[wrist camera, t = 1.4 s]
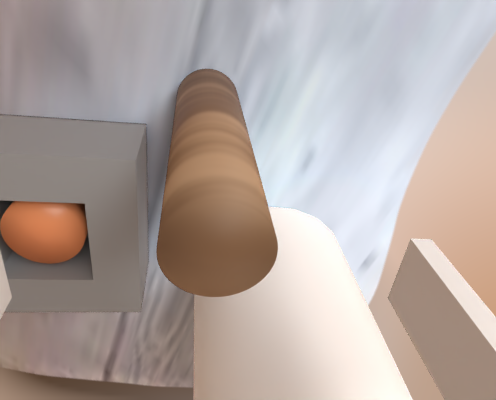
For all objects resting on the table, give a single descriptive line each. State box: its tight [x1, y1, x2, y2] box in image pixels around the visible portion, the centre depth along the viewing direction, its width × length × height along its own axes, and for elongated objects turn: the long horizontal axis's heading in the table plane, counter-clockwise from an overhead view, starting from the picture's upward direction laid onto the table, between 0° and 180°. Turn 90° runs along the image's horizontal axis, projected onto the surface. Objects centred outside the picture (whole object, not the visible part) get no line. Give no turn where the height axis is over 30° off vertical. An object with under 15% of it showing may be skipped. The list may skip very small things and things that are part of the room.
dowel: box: [157, 69, 278, 297], centre depth 20 cm, size 4×4×16 cm
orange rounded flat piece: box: [0, 201, 88, 264], centre depth 27 cm, size 5×5×2 cm
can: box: [193, 207, 413, 400], centre depth 27 cm, size 12×12×20 cm
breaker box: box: [0, 114, 149, 312], centre depth 27 cm, size 12×12×6 cm
